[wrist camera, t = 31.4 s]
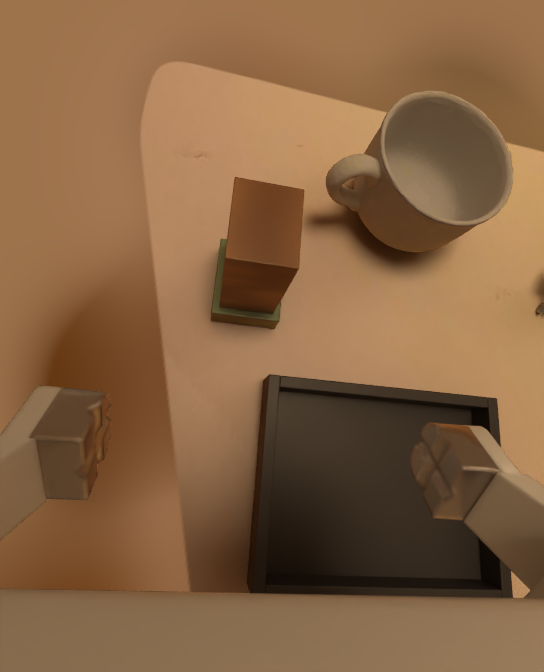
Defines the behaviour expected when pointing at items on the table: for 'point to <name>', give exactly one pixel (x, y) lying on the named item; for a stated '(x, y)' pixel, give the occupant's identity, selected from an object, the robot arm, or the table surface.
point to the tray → (360, 495)
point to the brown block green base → (258, 253)
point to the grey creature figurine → (541, 309)
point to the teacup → (426, 173)
